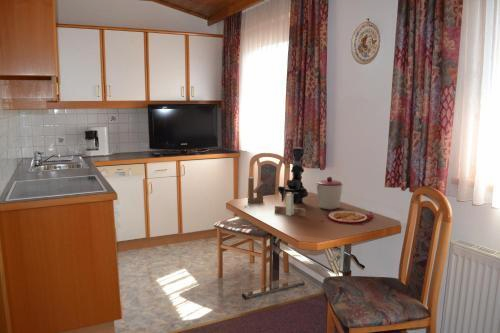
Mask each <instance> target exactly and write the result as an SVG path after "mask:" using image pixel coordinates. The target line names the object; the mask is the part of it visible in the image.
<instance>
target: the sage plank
mask: <svg viewBox="0 0 500 333" xmlns="http://www.w3.org/2000/svg"><path fill="white" fill-rule="evenodd" d="M285 200H286V202H285V203H286V206H285V207H286V214H285V215H286V216H292V215H293V216H294V203H293V194H292V193H286V196H285Z"/></svg>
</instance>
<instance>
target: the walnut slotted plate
mask: <svg viewBox="0 0 500 333" xmlns="http://www.w3.org/2000/svg"><path fill="white" fill-rule="evenodd" d="M274 213H275V214H281V215H286V206H283V205H274ZM293 216H295V217H303V218H304V217H306V208H300V207H299V208H298V207H293Z"/></svg>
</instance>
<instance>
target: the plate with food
mask: <svg viewBox="0 0 500 333" xmlns="http://www.w3.org/2000/svg"><path fill="white" fill-rule="evenodd" d="M372 213H373V212H372V211H370V212H369V213H368V214H367V213H364V212H359V211H354V210H335V211H334V210H333V209H330V211H329V212H328V213H327V214H326V215H325V218H326V219H327V222H329V223H334V224H338V225H342V224H343V225H346V224H347V225H348V224H349V225H356V226H360V227H361V226H365V224H364V223H369V222H371V220H372V218H373V216H374V213H373V214H372ZM320 221H321V222H324V223H325V222H326V221H325V219H324V218H323V219H320Z"/></svg>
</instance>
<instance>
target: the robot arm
mask: <svg viewBox="0 0 500 333" xmlns="http://www.w3.org/2000/svg"><path fill="white" fill-rule="evenodd" d="M291 152H292V155H293V158H294V162H293V163H292V166H291V168H290V172H291V173H292V179H287V181H286V186H287V188H286V187H285V186H283V185H282V186H281V185H279V186H278V187H277V191H278V192H279V194H280V195H281V202H282V203H283V202H285V200H286V195H287V193H291V194H293V204H304V202H303V199H305V198H307V197H308V196H309V193H308V190H307V188H305V187H304V185H303V181H302V178H303V177H302V174H303V173H304V172H305V168H304V167H303V163H302V159H303V158H304V155H305V148H303V147H301V146H300V147H298V146H296V147H295V146H294V148H292V150H291Z"/></svg>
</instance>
